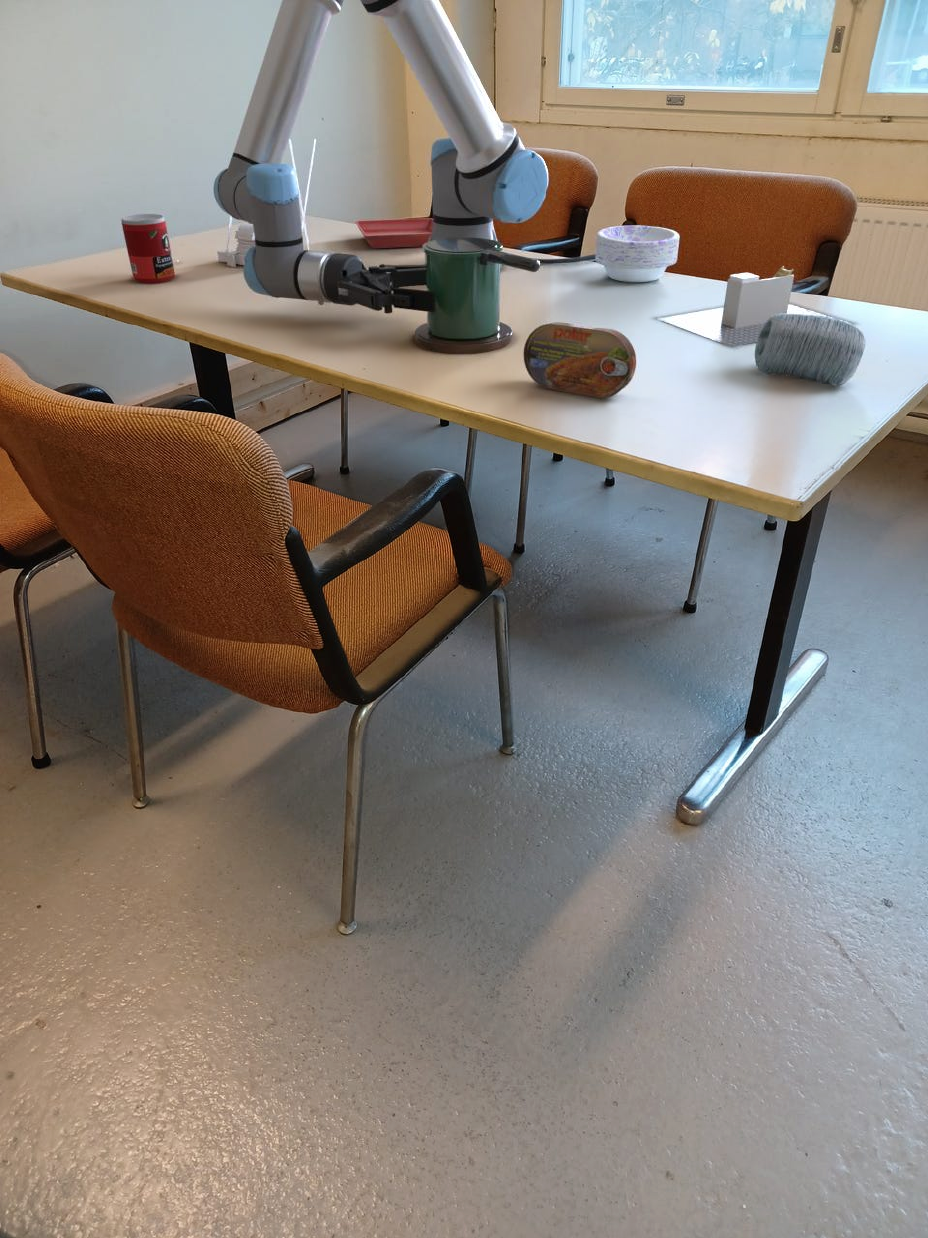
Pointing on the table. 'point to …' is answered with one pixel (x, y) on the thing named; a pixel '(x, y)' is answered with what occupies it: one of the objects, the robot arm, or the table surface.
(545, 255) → the table surface
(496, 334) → the turntable
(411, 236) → the plant saucer
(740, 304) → the model
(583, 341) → the tin
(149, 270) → the canned food
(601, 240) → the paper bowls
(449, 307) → the pot
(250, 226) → the wifi router
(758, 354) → the spool
